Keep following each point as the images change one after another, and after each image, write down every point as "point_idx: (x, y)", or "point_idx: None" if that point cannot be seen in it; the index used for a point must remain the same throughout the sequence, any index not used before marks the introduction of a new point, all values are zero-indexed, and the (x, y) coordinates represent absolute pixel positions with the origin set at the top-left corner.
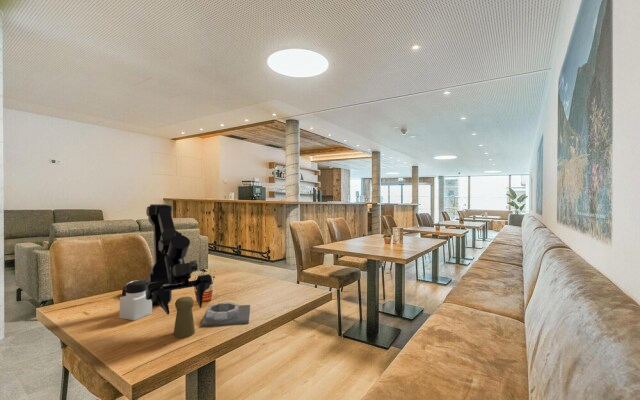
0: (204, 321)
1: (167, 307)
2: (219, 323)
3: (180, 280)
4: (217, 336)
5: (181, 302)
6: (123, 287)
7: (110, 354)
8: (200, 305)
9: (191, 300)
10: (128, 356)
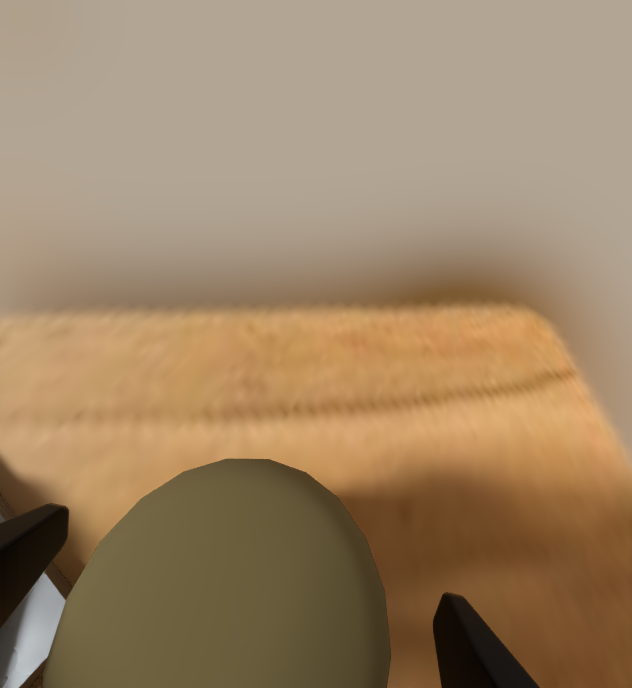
0: (21, 650)
1: (500, 668)
2: (2, 506)
3: None
4: (166, 373)
5: (339, 505)
6: None
7: None
8: (58, 509)
9: (173, 484)
10: (579, 517)
